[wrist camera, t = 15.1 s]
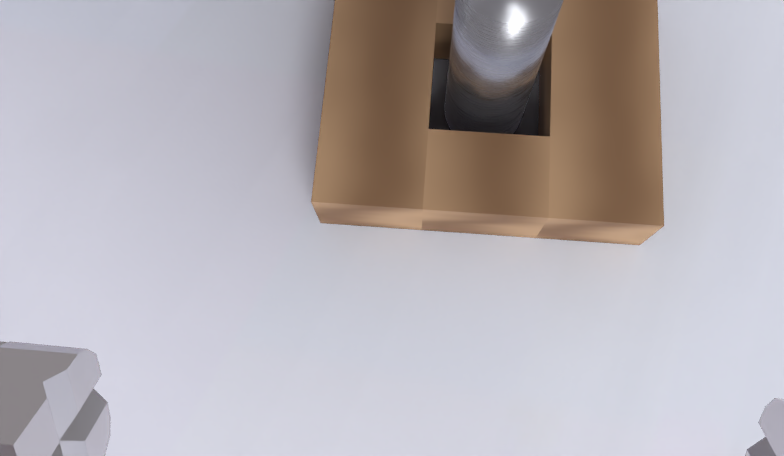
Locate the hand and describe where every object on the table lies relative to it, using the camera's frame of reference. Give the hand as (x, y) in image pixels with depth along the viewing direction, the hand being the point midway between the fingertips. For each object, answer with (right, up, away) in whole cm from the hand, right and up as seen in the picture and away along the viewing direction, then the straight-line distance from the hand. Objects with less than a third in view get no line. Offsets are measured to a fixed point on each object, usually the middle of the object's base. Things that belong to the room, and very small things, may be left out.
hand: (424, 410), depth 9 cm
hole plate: (+4, +8, +23) cm, 25 cm away
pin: (+4, +8, +24) cm, 25 cm away
